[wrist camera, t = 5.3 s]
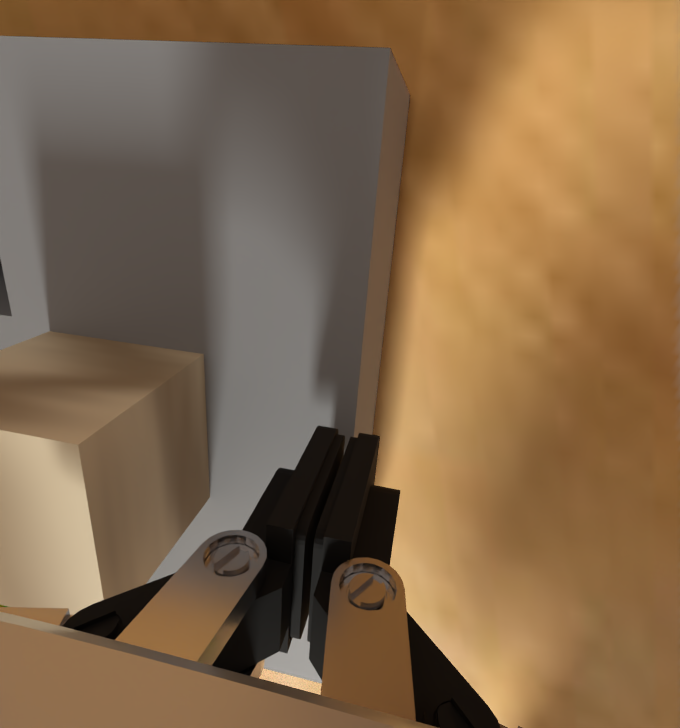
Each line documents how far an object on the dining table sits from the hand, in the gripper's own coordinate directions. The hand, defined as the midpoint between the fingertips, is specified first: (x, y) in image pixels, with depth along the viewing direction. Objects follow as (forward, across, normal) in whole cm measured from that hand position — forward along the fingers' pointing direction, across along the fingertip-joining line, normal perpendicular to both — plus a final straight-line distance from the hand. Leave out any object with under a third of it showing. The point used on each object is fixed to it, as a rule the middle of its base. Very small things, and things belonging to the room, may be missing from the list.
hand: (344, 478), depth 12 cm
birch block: (+1, +7, 0) cm, 7 cm away
